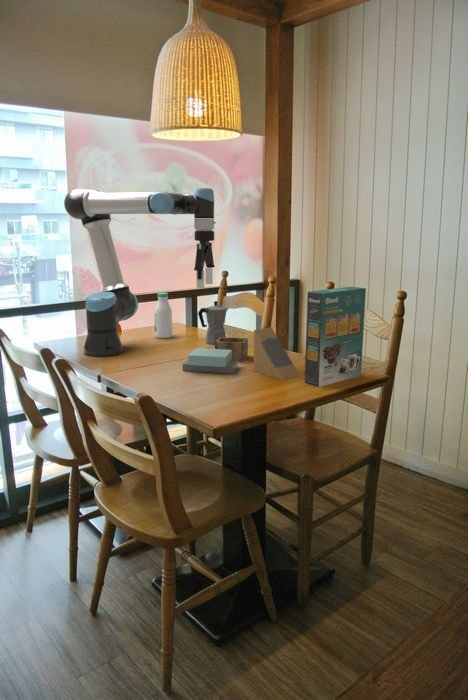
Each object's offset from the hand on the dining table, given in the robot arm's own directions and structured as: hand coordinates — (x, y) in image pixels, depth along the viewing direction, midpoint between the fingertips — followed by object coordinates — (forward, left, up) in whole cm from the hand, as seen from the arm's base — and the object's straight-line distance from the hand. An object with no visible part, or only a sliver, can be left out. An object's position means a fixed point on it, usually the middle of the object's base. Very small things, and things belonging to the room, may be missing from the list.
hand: (204, 286), depth 219 cm
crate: (+12, -6, -27) cm, 30 cm away
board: (+8, -24, -27) cm, 37 cm away
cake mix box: (+51, -28, -27) cm, 64 cm away
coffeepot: (-1, +19, -27) cm, 33 cm away
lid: (+8, -24, -24) cm, 35 cm away
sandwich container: (+32, -25, -27) cm, 49 cm away
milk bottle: (-26, +26, -27) cm, 46 cm away
